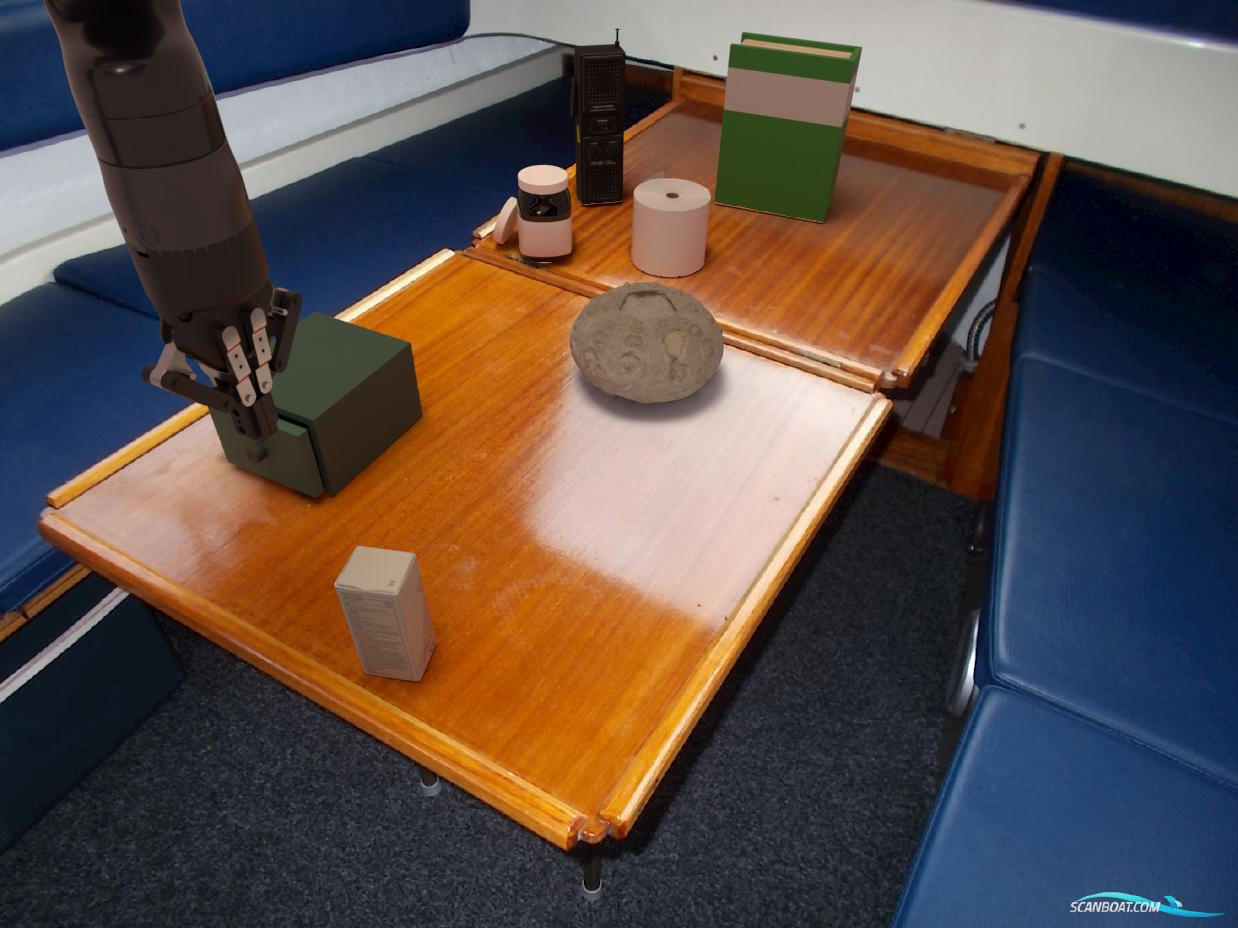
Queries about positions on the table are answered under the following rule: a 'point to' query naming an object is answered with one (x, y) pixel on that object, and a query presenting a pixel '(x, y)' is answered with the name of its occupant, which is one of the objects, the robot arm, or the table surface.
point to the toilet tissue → (669, 226)
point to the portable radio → (599, 121)
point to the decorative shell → (647, 342)
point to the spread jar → (539, 215)
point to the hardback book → (785, 124)
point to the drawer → (274, 453)
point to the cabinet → (347, 393)
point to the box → (387, 612)
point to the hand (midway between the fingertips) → (260, 434)
